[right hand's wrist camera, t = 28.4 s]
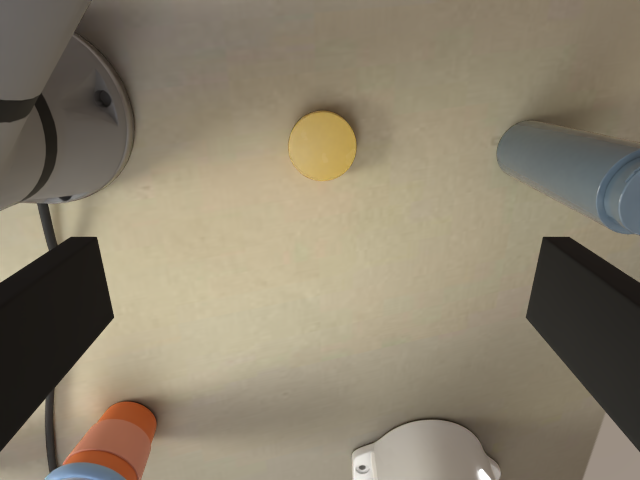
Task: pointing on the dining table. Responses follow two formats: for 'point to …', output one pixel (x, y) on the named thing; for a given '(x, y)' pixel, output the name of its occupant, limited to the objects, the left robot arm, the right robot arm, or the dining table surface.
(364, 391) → the dining table surface
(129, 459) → the cup with straw
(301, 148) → the lid
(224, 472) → the dining table surface
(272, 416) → the dining table surface
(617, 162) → the jar
